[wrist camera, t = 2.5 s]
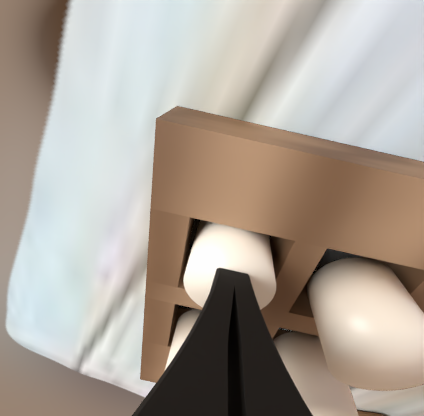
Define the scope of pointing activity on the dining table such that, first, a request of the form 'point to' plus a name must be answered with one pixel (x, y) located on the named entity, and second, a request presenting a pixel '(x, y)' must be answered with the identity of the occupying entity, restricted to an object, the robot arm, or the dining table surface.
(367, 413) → the wooden block set
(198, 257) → the button
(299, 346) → the button
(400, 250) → the button board
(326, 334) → the button
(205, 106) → the dining table surface
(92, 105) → the dining table surface
